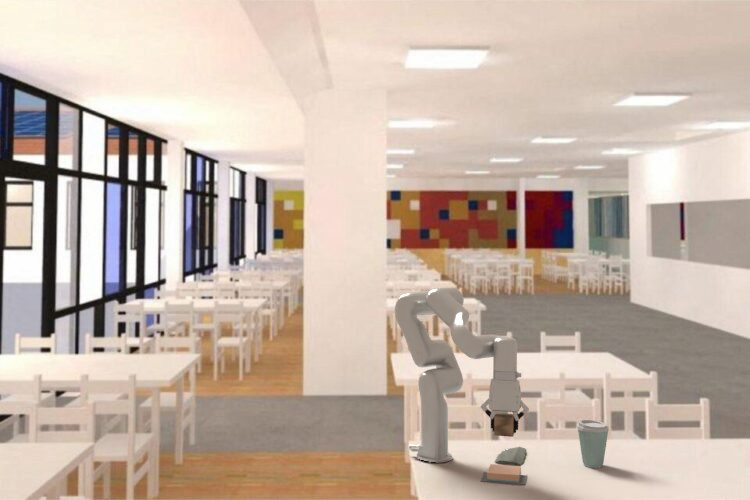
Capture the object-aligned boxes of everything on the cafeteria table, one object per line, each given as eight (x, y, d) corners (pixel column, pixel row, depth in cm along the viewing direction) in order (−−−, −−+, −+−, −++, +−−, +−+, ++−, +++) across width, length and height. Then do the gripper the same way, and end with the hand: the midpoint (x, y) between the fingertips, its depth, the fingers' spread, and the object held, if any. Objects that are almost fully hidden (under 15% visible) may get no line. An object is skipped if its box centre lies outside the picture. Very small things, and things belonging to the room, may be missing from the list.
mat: (480, 481, 233) (480, 480, 233) (484, 472, 242) (484, 471, 242) (525, 485, 229) (525, 484, 229) (527, 476, 239) (527, 475, 239)
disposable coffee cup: (610, 463, 254) (610, 420, 254) (606, 471, 244) (606, 426, 244) (579, 459, 258) (579, 417, 258) (574, 467, 248) (574, 423, 248)
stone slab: (494, 468, 253) (523, 467, 250) (493, 460, 253) (522, 459, 250) (501, 452, 274) (528, 451, 272) (500, 445, 275) (527, 443, 272)
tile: (490, 471, 243) (487, 480, 233) (490, 464, 243) (487, 472, 233) (521, 473, 240) (518, 482, 231) (521, 466, 240) (518, 475, 231)
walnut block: (494, 435, 235) (494, 416, 235) (496, 431, 241) (496, 412, 241) (513, 436, 233) (513, 418, 233) (514, 432, 239) (514, 414, 239)
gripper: (532, 375, 238) (532, 430, 238) (479, 372, 243) (479, 426, 243) (531, 379, 231) (531, 436, 231) (476, 376, 235) (476, 432, 235)
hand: (504, 430), depth 237 cm, fingers closed on walnut block, 6 cm apart
